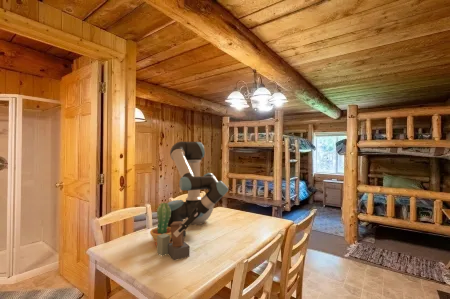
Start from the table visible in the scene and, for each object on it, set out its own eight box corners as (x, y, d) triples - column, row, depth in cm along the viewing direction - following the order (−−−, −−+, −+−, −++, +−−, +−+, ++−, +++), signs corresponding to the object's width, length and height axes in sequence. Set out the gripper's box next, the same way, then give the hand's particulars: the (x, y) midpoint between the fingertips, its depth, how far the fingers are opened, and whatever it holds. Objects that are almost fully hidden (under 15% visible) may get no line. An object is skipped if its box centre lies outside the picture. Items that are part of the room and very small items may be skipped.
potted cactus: (179, 240, 152) (180, 201, 152) (167, 249, 137) (168, 207, 137) (158, 237, 156) (158, 200, 156) (144, 246, 141) (145, 205, 141)
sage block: (156, 253, 132) (157, 235, 132) (164, 250, 136) (164, 233, 136) (162, 256, 129) (162, 237, 129) (169, 253, 133) (169, 235, 133)
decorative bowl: (176, 219, 196) (176, 205, 196) (206, 216, 207) (206, 202, 207) (184, 229, 172) (184, 213, 172) (218, 225, 183) (218, 209, 183)
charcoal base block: (167, 254, 131) (168, 243, 131) (182, 250, 136) (182, 240, 136) (173, 260, 124) (174, 249, 124) (189, 256, 129) (189, 245, 129)
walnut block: (175, 242, 133) (173, 221, 133) (184, 242, 132) (181, 221, 132) (172, 246, 128) (170, 224, 128) (181, 246, 127) (179, 224, 127)
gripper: (207, 215, 117) (177, 244, 117) (211, 203, 142) (186, 228, 142) (197, 204, 117) (167, 234, 117) (203, 195, 142) (178, 219, 142)
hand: (177, 230), depth 130 cm, fingers open, 13 cm apart
